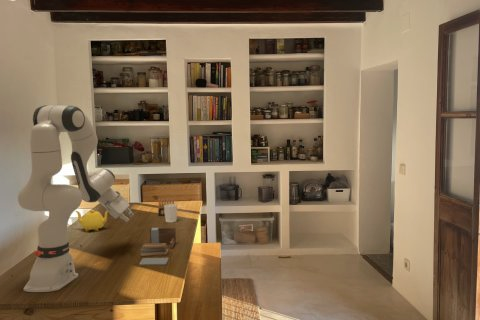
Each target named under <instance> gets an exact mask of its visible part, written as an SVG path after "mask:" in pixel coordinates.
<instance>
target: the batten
mask: <svg viewBox="0 0 480 320" xmlns="http://www.w3.org/2000/svg"><path fill="white" fill-rule="evenodd" d="M151 228H152V229H151V243H159V228H160V227H151Z"/></svg>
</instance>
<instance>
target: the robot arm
mask: <svg viewBox="0 0 480 320" xmlns="http://www.w3.org/2000/svg"><path fill="white" fill-rule="evenodd" d="M32 123H33V126H32V128H31V133H30V157H31V158H30V159H31V174H30V176H29V179H28V181H27V182H26V184H25V185H24V186H23V187H21V189H20V190H19V191H18V195H17V201H18V204H19V206H20V207H21V208H22V209H24V210H27V211H33V212H48V218H47V219H45V220H44V221H42V222H41V223H40V224H39V225H38V227H37V240H38V241H37V242H38V243H37V244H38V245H37V248H36V250H34V254H33V255H34V256H35V257H36V259H35V261H34V263H33V265H32V267H31V270H30V273H29V280H28V281H27V282H26V284H25V286H24V287H23V291H24V292H27V293H49V292H55V291H59V290H62V288H64V287H65V286H66V285H68V284H69V283H71V282H73V281H74V280H75V279H77V278H78V277H79V273H78V272H76V269H75V262H74V257H73V256H72V254H70V252H69V251H70V243H69V241H68V225H69V224H68V223H69V220H70V218H71V216H72V214H73V213H74V212H76V211H77V209H78V208H80V206H81V204H82V202H83V201H84V202H86V203H97V202H98V203H99V204H100V205H101V206H102V207H104V208H105V210H106V211H108V213H109V214H110V216H111V217H112V218H113V219H115V220H116V219H118V218H119V219H121V220H123V221H124V222H126V223H128V222H129V221H130V218H132V217H134V216H135V214H134V213H133V211H132V210H131V209H130V208H129V207H130V206H131V204H130V203H129V202H128V201H127V199H126V198H125V197H123V196H122V195H121V193H120V192H119V191H117V190H114V189H112V188H111V187H112V186H113V185H114V184H115V182H116V176H115V174H114V173H113V172H112V171H111V170H110V169H108V168H100V169H99V170H97V171H88V161H89V160H90V158H91V156H92V154H93V153H94V152H95V150H96V148H97V146H98V143H99V141H98V135H97V132H96V131H95V128H94V125H93V124H92V122H91V120H90V118H89V117H88V115H87V114H86V113H85V111H83V110H82V109H81V108H79V107H78V106H74V105H63V104H62V105H61V104H51V105H42V106H38V107H37V108H36V109H35V110H34V112H33V116H32ZM65 132H66V133H67V135H68V138H69V140H70V142H71V143H70V144H71V154H70V161H71V165H72V168H73V169H72V170H73V172H74V175H75V180H76V183H77V186H76V185H71V184H62V183H61V184H54V183H52V179H53V177H54V176H56V175H57V174H58V173H60V172H61V170H62V168H63V159H62V147H61V140H60V135H61V133H65ZM124 212H125V213H127V214H128V216H129V217H130V218H129V217H128V216H126V215H125V213H124Z"/></svg>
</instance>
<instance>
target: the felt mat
mask: <svg viewBox="0 0 480 320" xmlns="http://www.w3.org/2000/svg"><path fill="white" fill-rule="evenodd" d="M169 260H170V259H169V257H142V258H141V260H140V262H139V263H138V266H167V264H168V262H169Z"/></svg>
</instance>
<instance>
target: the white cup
mask: <svg viewBox="0 0 480 320" xmlns="http://www.w3.org/2000/svg"><path fill="white" fill-rule="evenodd" d="M164 211H165V216H164V218H165V222H166V223H176V222H177V220H178V219H177V218H178V205H177V204H176V203H174V204H172V203H171V204H167V205H164Z"/></svg>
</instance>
